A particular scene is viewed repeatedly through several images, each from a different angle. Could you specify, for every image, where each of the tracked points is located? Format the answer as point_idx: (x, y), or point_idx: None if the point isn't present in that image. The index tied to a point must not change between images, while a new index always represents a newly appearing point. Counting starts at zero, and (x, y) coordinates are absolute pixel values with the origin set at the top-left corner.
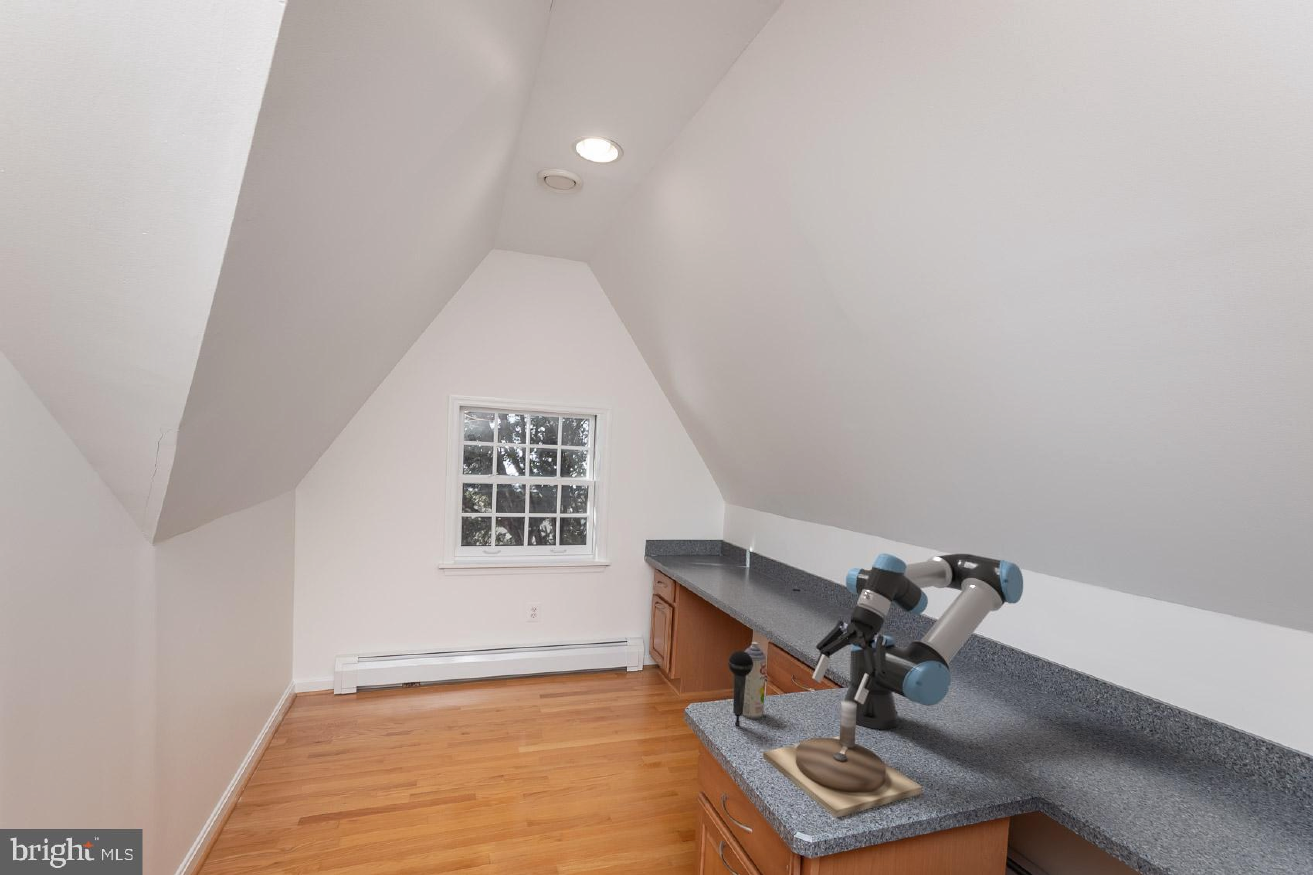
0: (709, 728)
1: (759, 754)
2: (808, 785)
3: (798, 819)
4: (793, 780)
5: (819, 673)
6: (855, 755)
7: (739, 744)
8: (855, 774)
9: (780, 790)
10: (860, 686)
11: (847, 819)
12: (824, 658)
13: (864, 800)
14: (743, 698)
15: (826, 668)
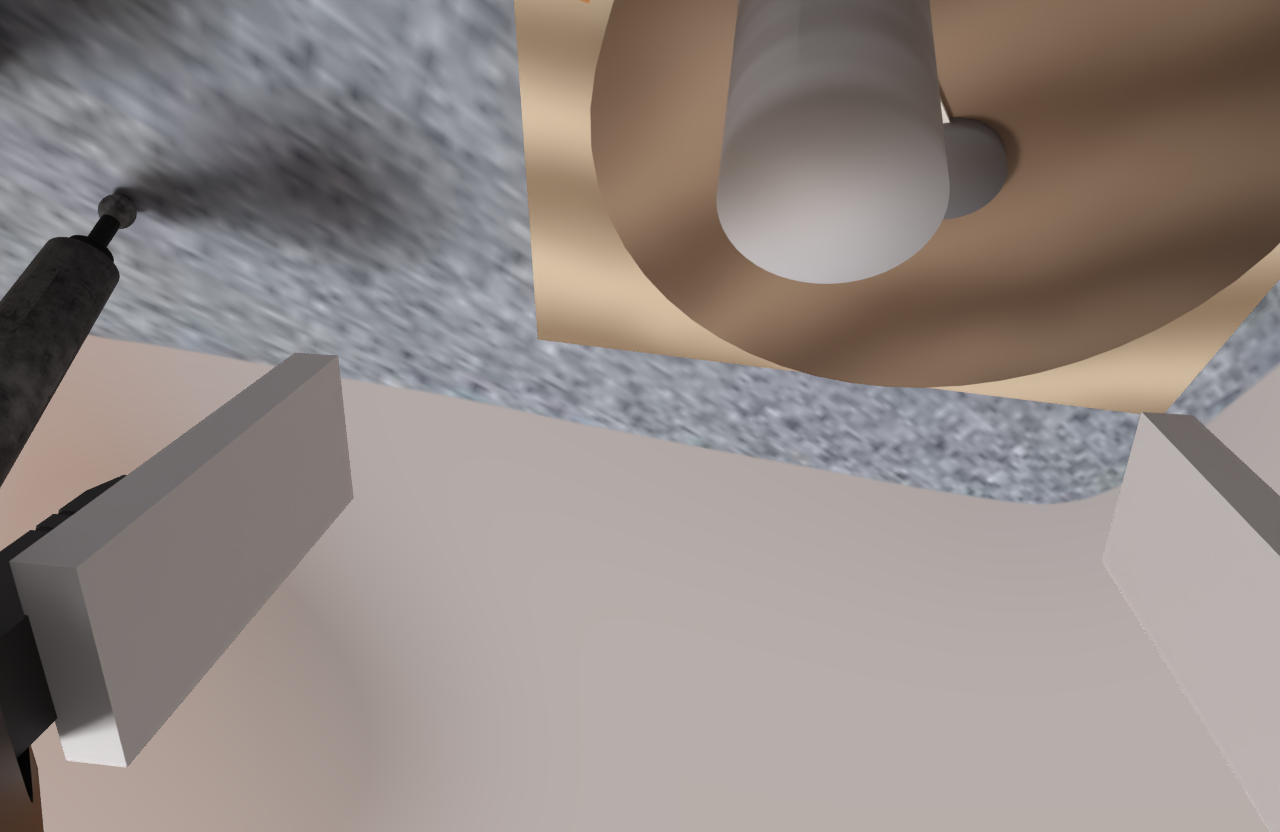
0: (173, 332)
1: (503, 303)
2: None
3: (1022, 478)
4: None
5: (297, 495)
6: (1015, 4)
7: (373, 317)
8: (1160, 237)
9: (829, 415)
10: (1201, 691)
11: None
12: (156, 689)
13: (1271, 261)
14: (51, 344)
15: (212, 462)
